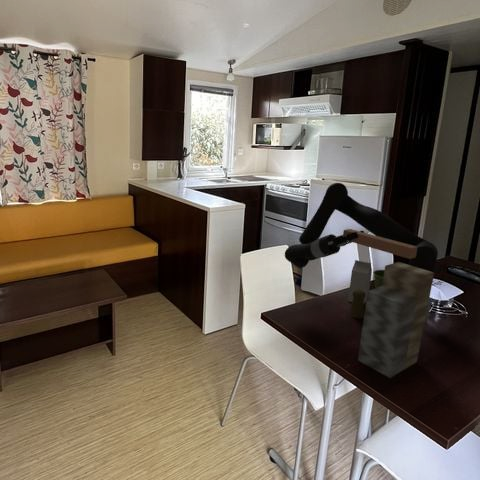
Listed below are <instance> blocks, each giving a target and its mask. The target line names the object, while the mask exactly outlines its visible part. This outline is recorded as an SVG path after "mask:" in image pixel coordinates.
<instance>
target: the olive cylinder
mask: <svg viewBox="0 0 480 480" xmlns="http://www.w3.org/2000/svg"><path fill="white" fill-rule="evenodd" d="M352 295H353V301H352V302H351V305H350V309H349V311H348V315H349V316H350V317H351V318H353V319H362V318H363V319H364V314H365V308H364V306H365V304H364V301H363V299H364V298H365V292H364V291H362V290H354V291H353V294H352Z"/></svg>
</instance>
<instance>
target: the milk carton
mask: <svg viewBox="0 0 480 480" xmlns="http://www.w3.org/2000/svg"><path fill="white" fill-rule="evenodd" d="M372 269H373V268H372V262H367V261H363V260H358V259H355V260H354V264H353V267H352V269H351V274H350V275H351V276H350V284H349V288H348V289H349V292H348V298H347V302H350V303H352V301H353V295H352V294H353V291H354V290H362V291H364V292H365V298H364V299H363V301H364V305H366V300H367V293H368V291H369V290H370V285H371V278H372V273H373V271H372Z"/></svg>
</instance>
